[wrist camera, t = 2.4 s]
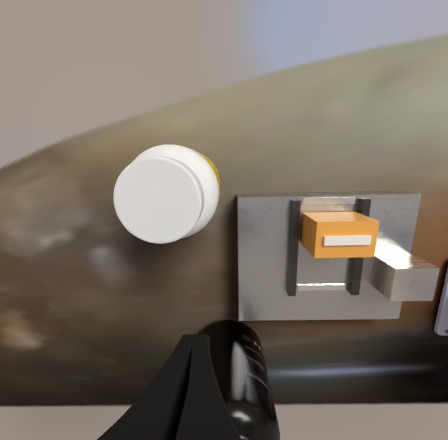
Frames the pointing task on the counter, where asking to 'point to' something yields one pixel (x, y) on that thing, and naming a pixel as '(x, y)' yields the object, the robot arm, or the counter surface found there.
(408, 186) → the counter surface
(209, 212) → the supplement bottle
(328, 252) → the orange cuboid
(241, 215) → the strip
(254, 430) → the supplement bottle
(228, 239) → the counter surface
